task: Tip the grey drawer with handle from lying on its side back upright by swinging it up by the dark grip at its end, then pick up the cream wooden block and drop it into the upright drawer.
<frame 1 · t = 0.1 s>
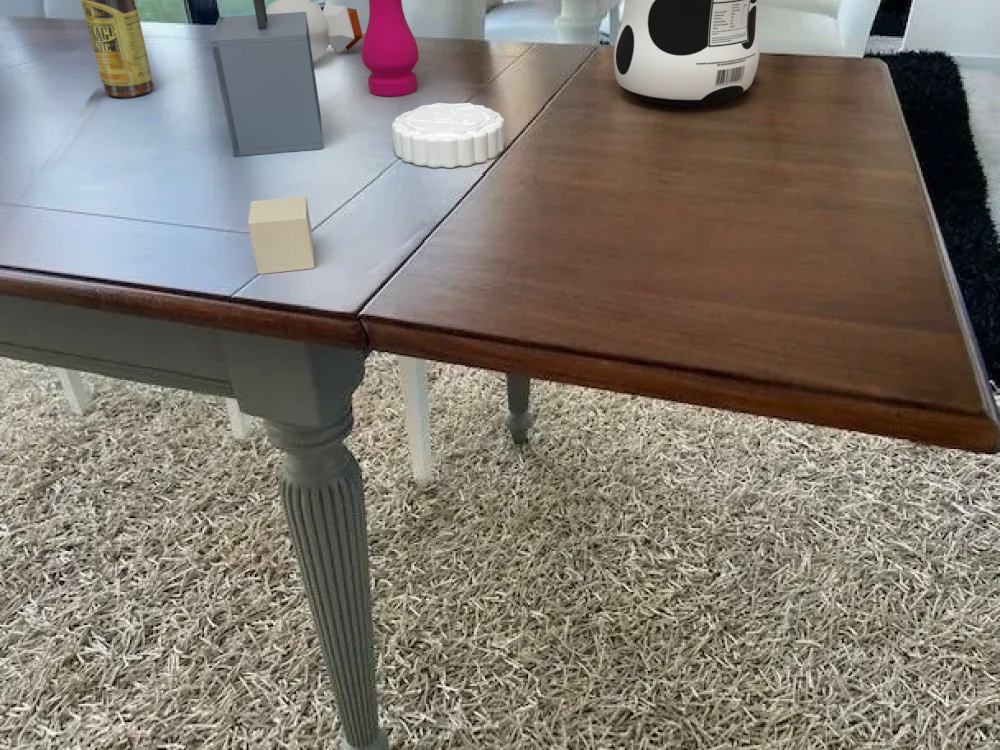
pepper mill: (393, 91, 111), on the table
sauce bottle: (132, 94, 113), on the table
milk container: (681, 96, 107), on the table
grey drawer with handle: (266, 59, 92), point 8 cm above the table, hinge at 90.0°
mooncake: (449, 150, 92), on the table
block: (287, 259, 71), on the table
potion bottle: (314, 62, 125), on the table
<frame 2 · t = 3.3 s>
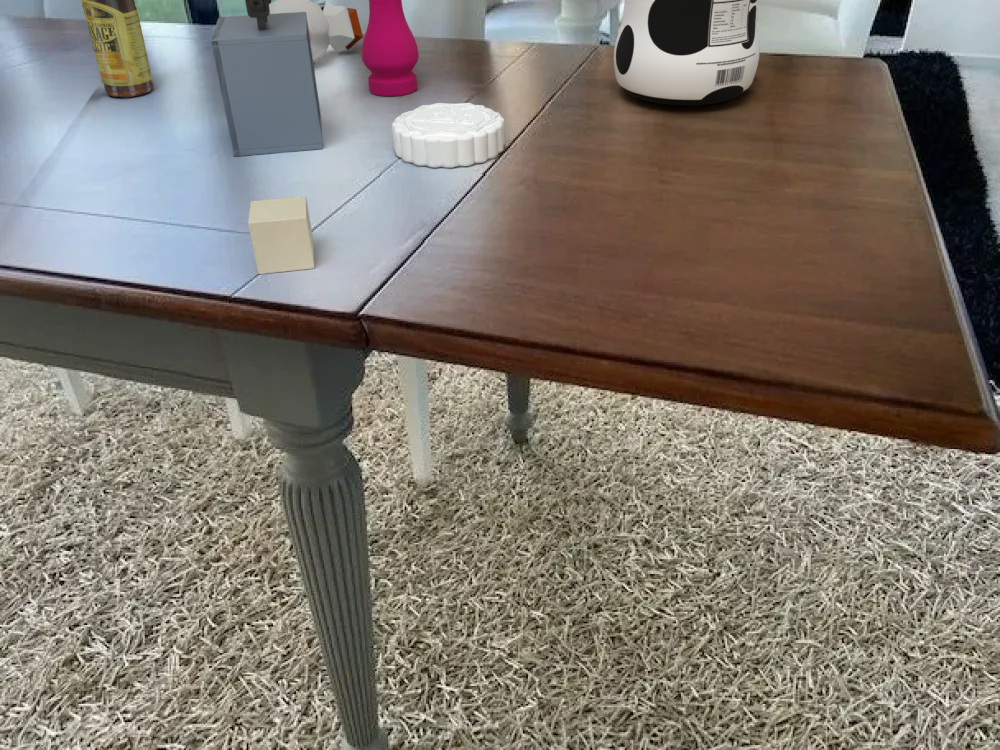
hand: (260, 9, 89), 14 cm above the table, tool pointing down, fingers closed on grey drawer with handle, 5 cm apart
grey drawer with handle: (266, 59, 92), point 8 cm above the table, hinge at 90.0°, touching gripper
everything else where it was.
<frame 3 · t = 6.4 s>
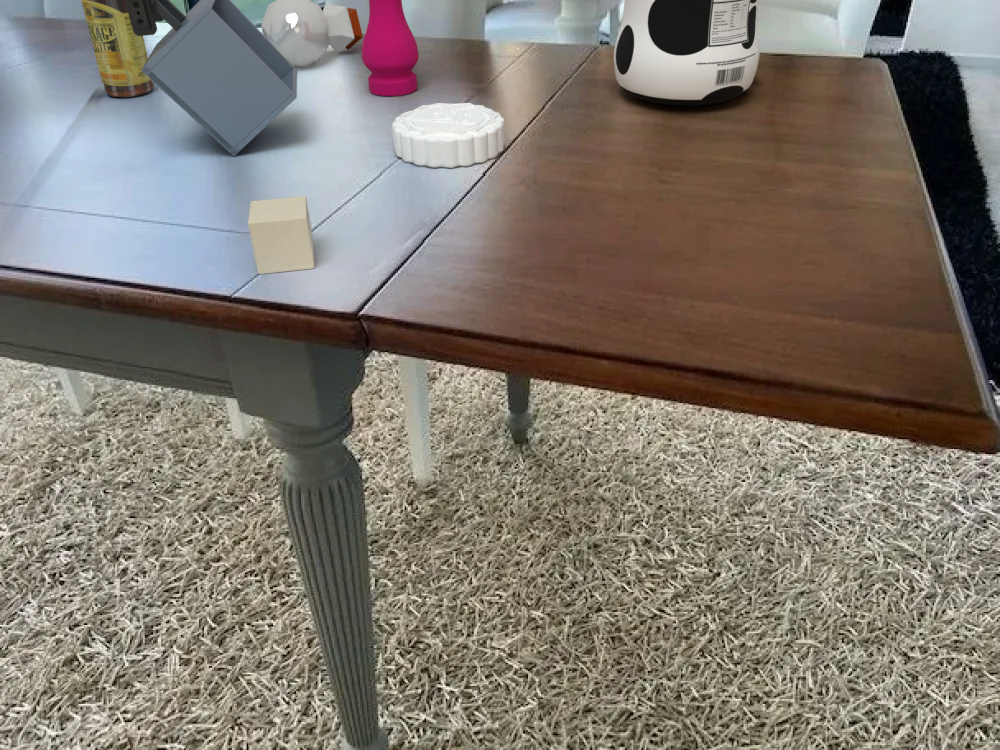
hand: (150, 27, 88), 13 cm above the table, tool pointing down, fingers closed on grey drawer with handle, 5 cm apart
grey drawer with handle: (206, 52, 91), point 10 cm above the table, hinge at 52.9°, touching gripper
everything else where it was.
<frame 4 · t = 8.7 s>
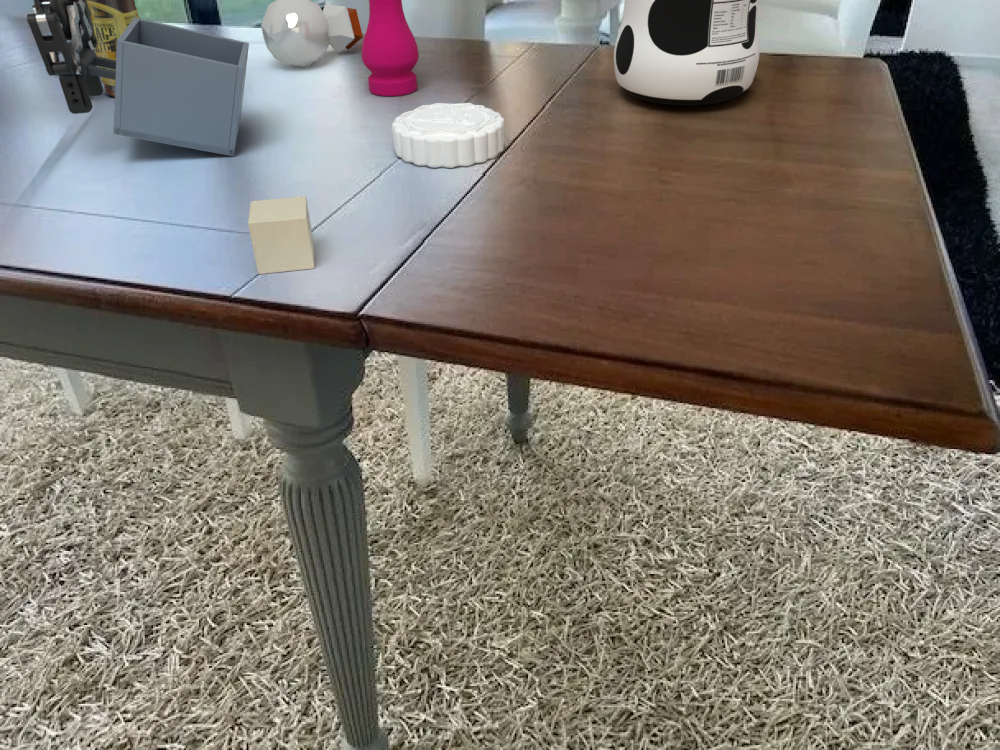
hand: (87, 102, 91), 5 cm above the table, tool pointing down, fingers closed on grey drawer with handle, 5 cm apart
grey drawer with handle: (160, 81, 91), point 7 cm above the table, hinge at 16.7°, touching gripper
everything else where it was.
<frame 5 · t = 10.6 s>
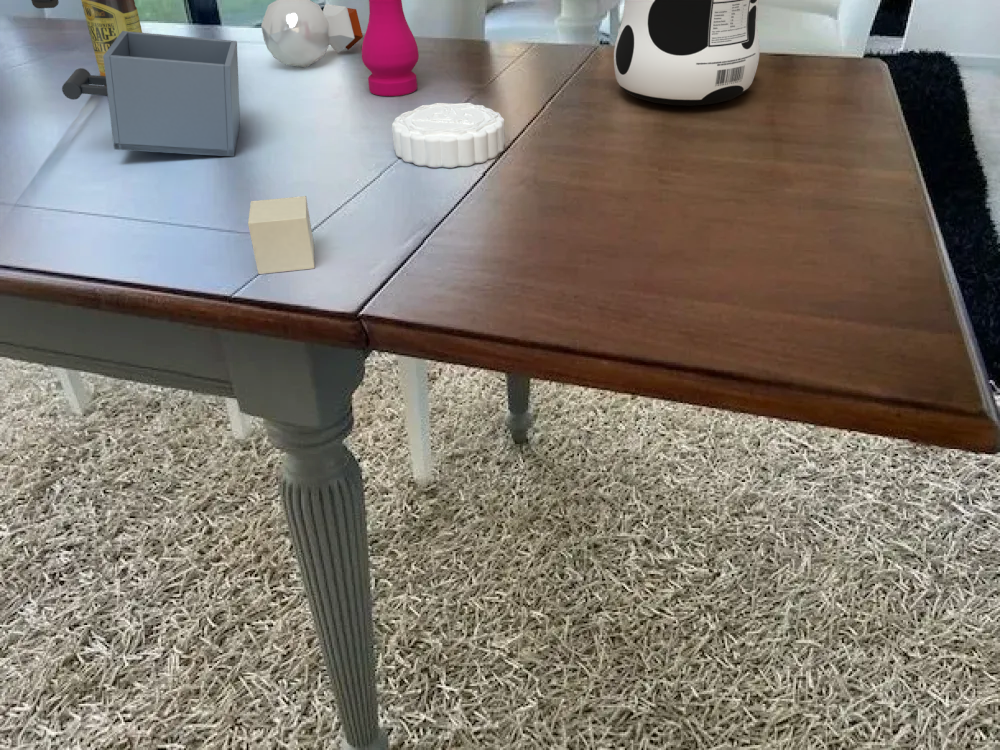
grey drawer with handle: (153, 91, 92), point 6 cm above the table, hinge at 8.8°
everything else where it was.
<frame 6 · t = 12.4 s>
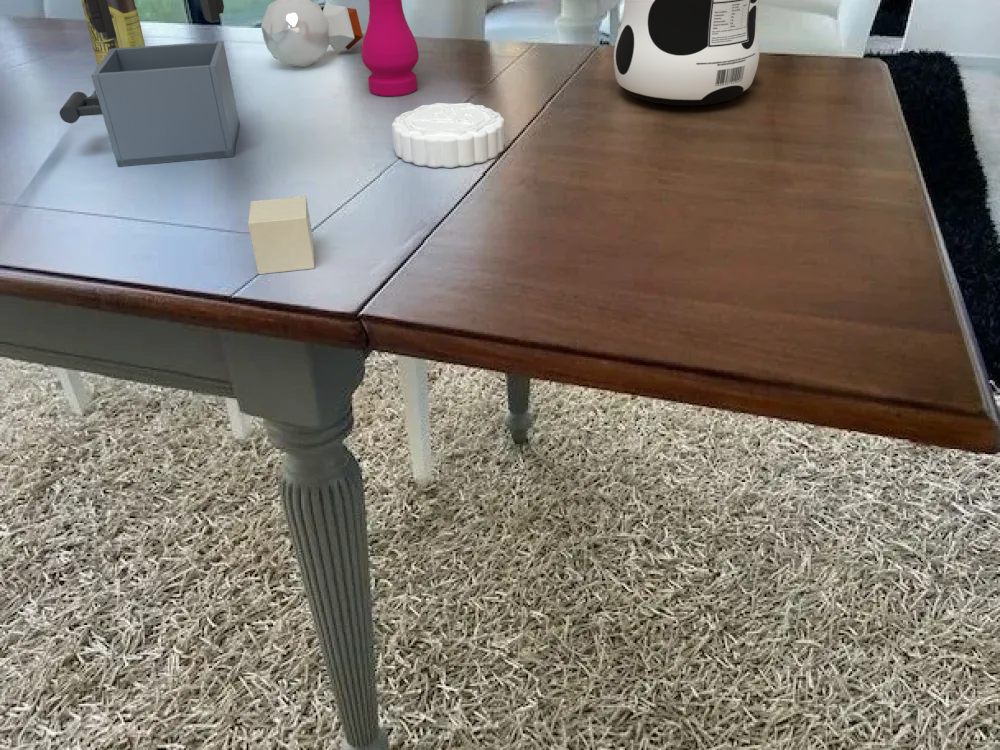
hand: (162, 29, 71), 16 cm above the table, tool pointing down, fingers open, 8 cm apart
grey drawer with handle: (148, 103, 92), point 5 cm above the table, hinge at 0.0°
everything else where it was.
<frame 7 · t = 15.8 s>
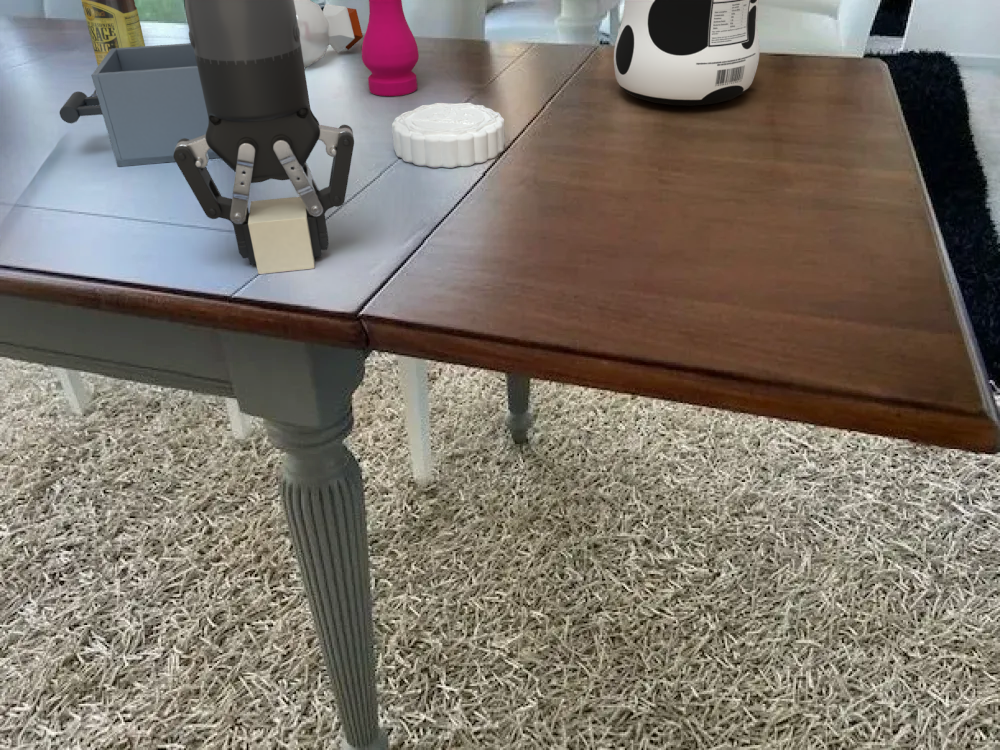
hand: (286, 255, 71), 0 cm above the table, tool pointing down, fingers closed on block, 4 cm apart
block: (287, 259, 71), on the table, touching gripper
everything else where it was.
when the fingers open (8 cm above the table, at t = 23.5 s): block drops 7 cm, resting on grey drawer with handle.
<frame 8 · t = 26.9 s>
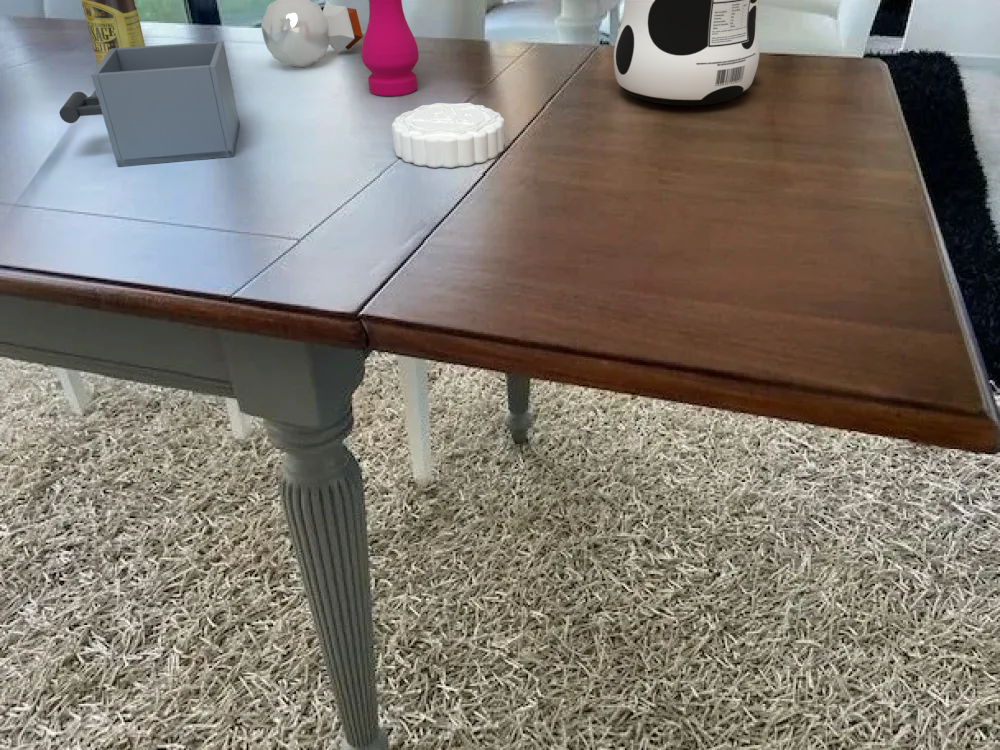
grey drawer with handle: (148, 103, 92), point 5 cm above the table, hinge at 0.0°, touching block
block: (180, 137, 95), point 1 cm above the table, touching grey drawer with handle
everything else where it was.
at the end: grey drawer with handle at +0° (first picture: +90°); block inside the target area on the grey drawer with handle (0.0 cm from its centre), point 0.8 cm above the grey drawer with handle's base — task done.
